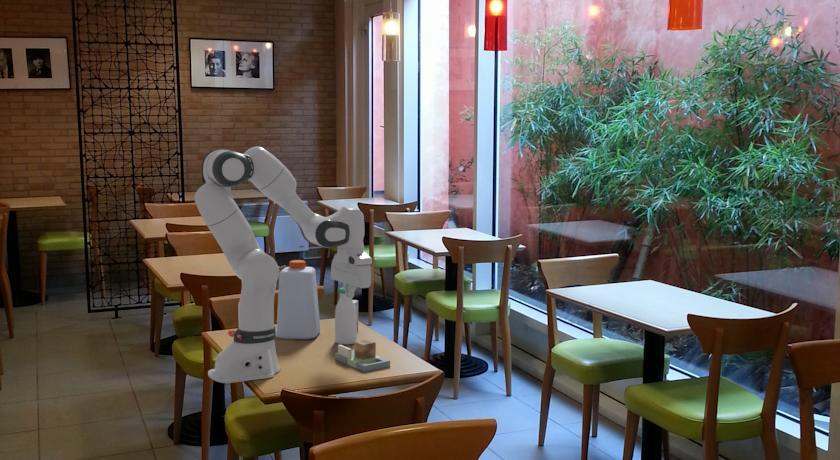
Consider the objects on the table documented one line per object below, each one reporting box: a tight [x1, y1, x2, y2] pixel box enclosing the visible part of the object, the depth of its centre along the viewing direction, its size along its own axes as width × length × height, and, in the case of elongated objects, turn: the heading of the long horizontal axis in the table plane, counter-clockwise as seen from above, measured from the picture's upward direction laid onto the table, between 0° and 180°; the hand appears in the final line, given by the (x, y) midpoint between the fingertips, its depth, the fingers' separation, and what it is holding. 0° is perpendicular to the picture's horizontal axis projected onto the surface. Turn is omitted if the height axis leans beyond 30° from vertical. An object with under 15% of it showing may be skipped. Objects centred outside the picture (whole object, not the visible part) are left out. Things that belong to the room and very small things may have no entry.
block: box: [354, 339, 377, 360], centre depth 276 cm, size 5×5×5 cm
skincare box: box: [352, 299, 359, 332], centre depth 314 cm, size 6×4×12 cm
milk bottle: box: [334, 286, 358, 346], centre depth 300 cm, size 8×8×20 cm
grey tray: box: [334, 344, 391, 373], centre depth 276 cm, size 10×18×5 cm, turn 36°
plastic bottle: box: [275, 259, 321, 341], centre depth 309 cm, size 15×15×28 cm
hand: (349, 297), depth 279 cm, fingers closed
